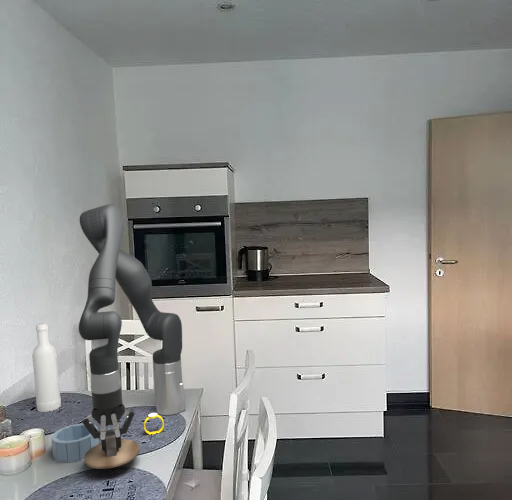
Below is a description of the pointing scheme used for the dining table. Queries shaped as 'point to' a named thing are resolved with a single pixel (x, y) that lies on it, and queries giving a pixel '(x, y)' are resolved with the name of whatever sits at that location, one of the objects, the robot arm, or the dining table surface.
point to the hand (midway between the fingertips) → (111, 449)
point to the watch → (152, 416)
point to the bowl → (72, 443)
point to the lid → (111, 453)
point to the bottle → (45, 372)
